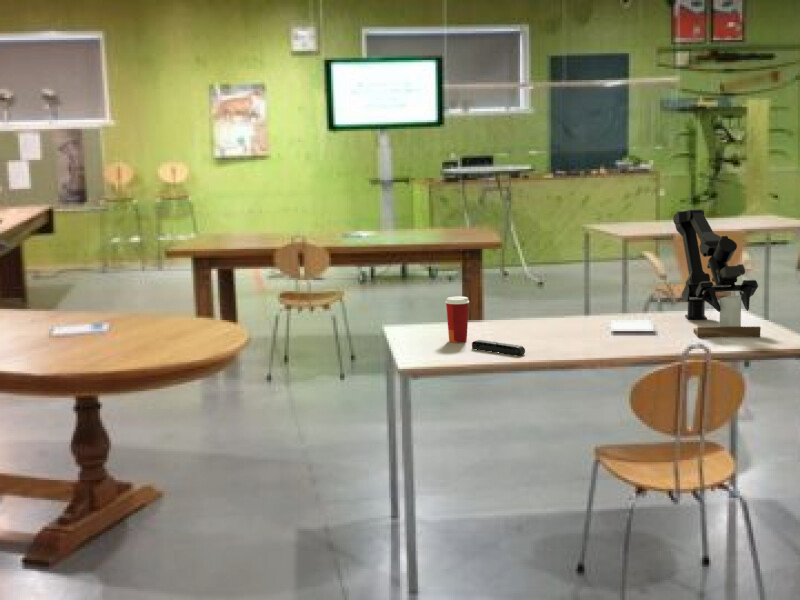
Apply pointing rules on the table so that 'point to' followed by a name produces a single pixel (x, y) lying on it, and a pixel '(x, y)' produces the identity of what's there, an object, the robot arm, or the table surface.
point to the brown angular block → (727, 331)
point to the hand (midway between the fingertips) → (733, 310)
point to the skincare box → (730, 311)
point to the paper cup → (457, 318)
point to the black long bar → (498, 347)
